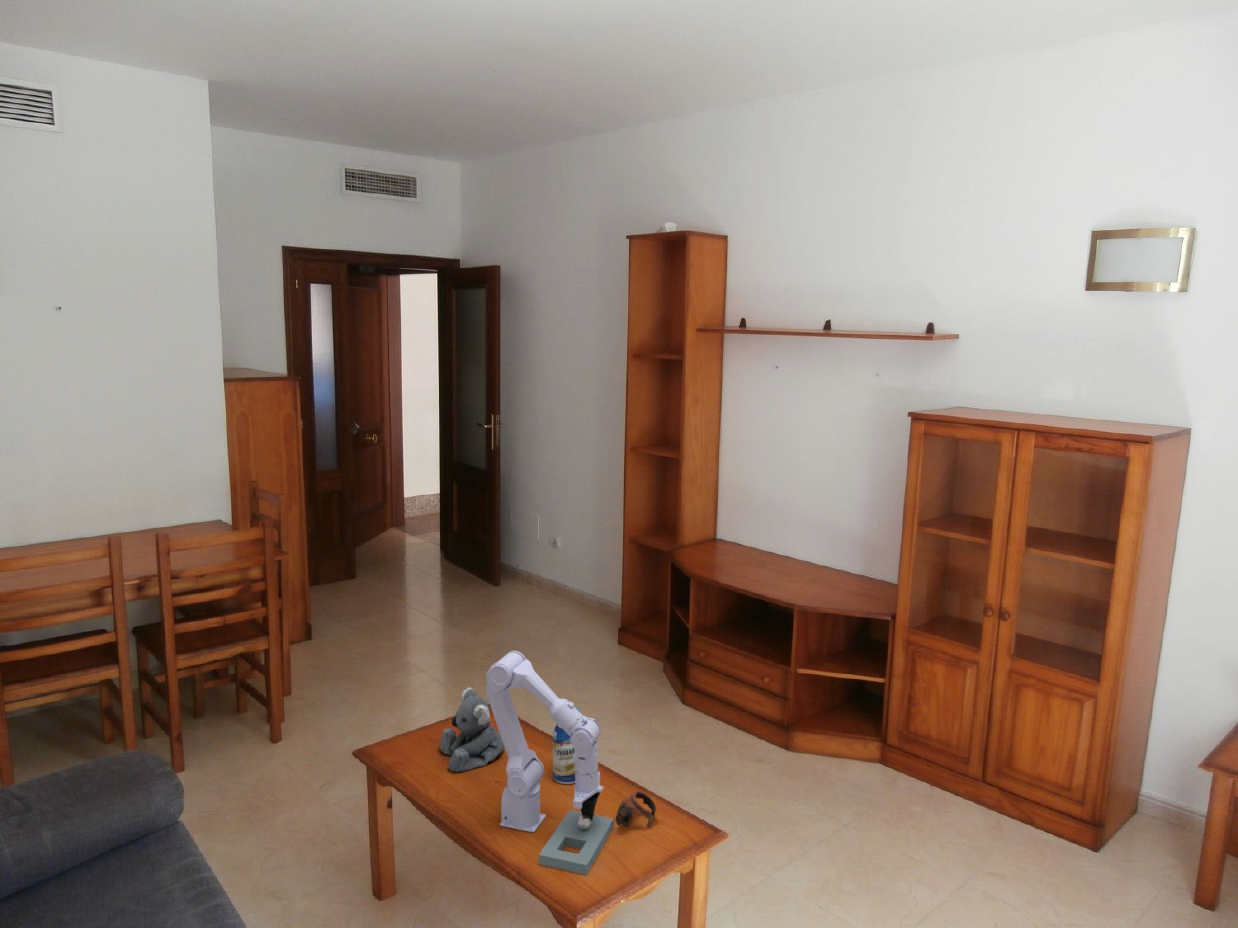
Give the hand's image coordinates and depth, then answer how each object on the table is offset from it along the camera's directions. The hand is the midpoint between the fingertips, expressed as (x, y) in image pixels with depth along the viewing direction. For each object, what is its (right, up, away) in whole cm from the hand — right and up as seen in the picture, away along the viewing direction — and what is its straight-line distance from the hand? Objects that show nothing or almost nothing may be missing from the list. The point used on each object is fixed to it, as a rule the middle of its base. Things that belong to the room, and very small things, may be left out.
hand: (587, 819), depth 213 cm
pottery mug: (+11, -4, +6) cm, 13 cm away
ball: (-1, 0, -1) cm, 1 cm away
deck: (-2, -5, -4) cm, 6 cm away
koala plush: (-35, +2, +39) cm, 52 cm away
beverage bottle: (-7, 0, +28) cm, 29 cm away
